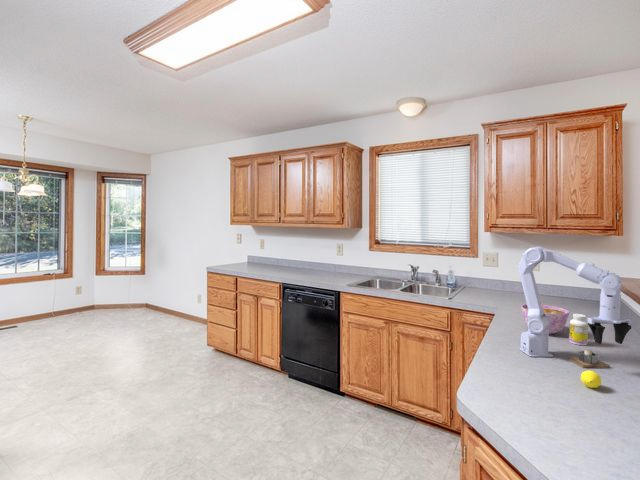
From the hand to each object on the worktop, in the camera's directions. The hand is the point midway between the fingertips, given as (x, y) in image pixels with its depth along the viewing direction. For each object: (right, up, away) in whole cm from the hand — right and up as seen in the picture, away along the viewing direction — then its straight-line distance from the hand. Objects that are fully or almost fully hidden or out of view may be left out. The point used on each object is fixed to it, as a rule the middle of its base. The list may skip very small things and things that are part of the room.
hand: (608, 343), depth 125 cm
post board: (-3, -10, +6) cm, 12 cm away
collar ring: (-3, -9, +6) cm, 11 cm away
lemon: (-17, -11, -13) cm, 24 cm away
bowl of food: (+5, -8, +44) cm, 45 cm away
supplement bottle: (+10, -9, +28) cm, 31 cm away
